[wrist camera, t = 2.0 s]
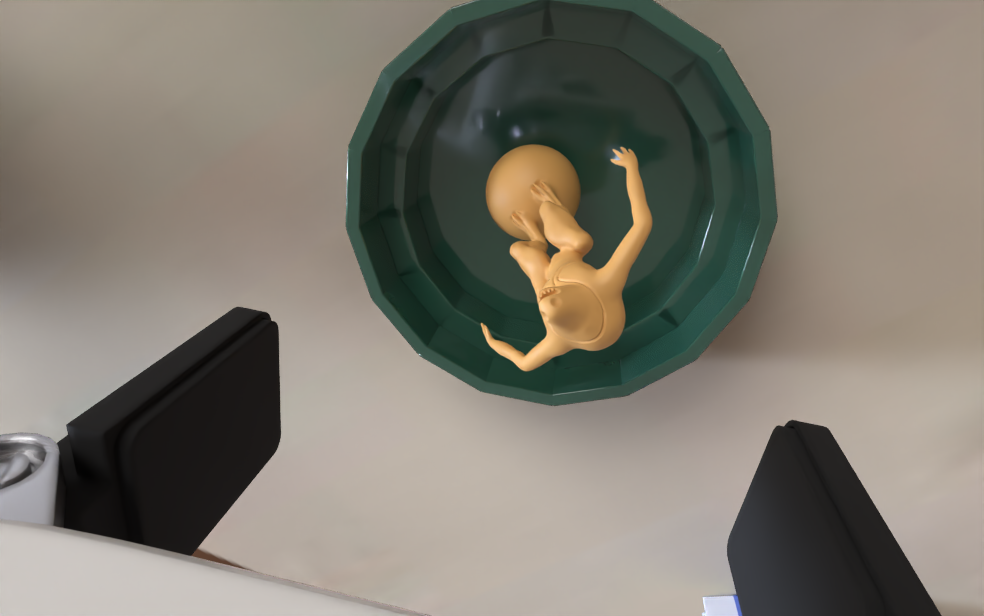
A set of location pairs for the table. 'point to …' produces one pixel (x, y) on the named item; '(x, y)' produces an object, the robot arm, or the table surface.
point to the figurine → (562, 250)
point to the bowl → (604, 196)
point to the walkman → (722, 606)
